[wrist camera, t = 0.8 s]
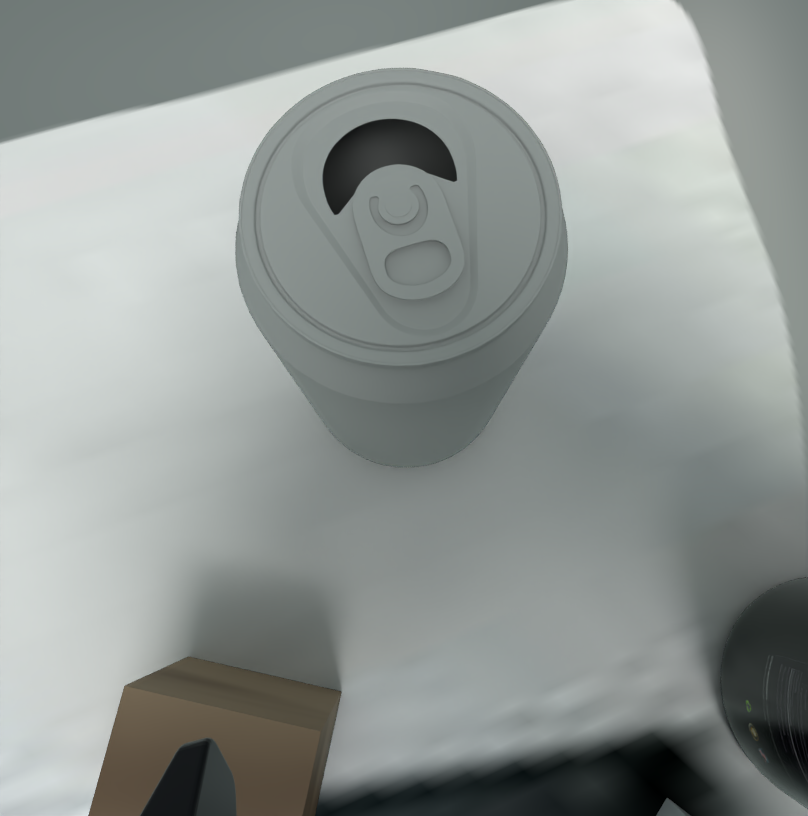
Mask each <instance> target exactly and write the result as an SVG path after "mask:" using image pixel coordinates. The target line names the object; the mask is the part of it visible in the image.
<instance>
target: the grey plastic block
mask: <svg viewBox="0 0 808 816" xmlns="http://www.w3.org/2000/svg"><path fill="white" fill-rule="evenodd" d="M656 816H690V815H689V814H688V813H687V812H685V811H684V810H683V809H681V808H680V807H679V806H678V805H676V804H675V803H674V802H672V801H671V800H670V799H669V798H667V799H666V800H665V802H664V803H663V805H662V807H661V808H660V810H659V812H658V813H657V815H656Z"/></svg>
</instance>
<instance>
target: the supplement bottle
mask: <svg viewBox="0 0 808 816" xmlns="http://www.w3.org/2000/svg"><path fill="white" fill-rule="evenodd" d="M721 691H722V698H723V703H724V708H725V712H726V715H727V718H728V721H729V724H730V726H731V728H732V731H733V733H734V735H735V737H736V739H737V741H738V743H739V744H740V746H741V748H742V749H743V751H744V752H745V754H746V755H747V757H748V758H749V759H750V761H751V762H752V763H753V764H754V766H755V767H756V768H757V769H758V770H759V771H760V772H761V773H762V774H763V775H764V776H765V777H766V778H767V779H768V780H769V781H770V782H772V783H773V784H774V785H775V786H776V787H777V788H779V789H780V790H781V791H783V792H784V793H785V794H787V795H788V796H790V797H791V798H793V799H794V800H796V801H797V802H798V803H800V804H801V805H803V806H804V807H806V808H807V809H808V577H807V578H800V579H796V580H792V581H788V582H785V583H783V584H780V585H778V586H776V587H774V588H772V589H770V590H768V591H767V592H765V593H764V594H762V595H761V596H759V597H758V598H757V599H756V600H755V601H753V602H752V603H751V604H750V605H749V606H748V607H747V608H746V609H745V611H744V612H743V613H742V614H741V616H740V617H739V618H738V620H737V622H736V623H735V625H734V626H733V628H732V631H731V633H730V635H729V637H728V640H727V643H726V645H725V649H724V653H723V658H722V665H721Z"/></svg>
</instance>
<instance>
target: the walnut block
mask: <svg viewBox="0 0 808 816" xmlns="http://www.w3.org/2000/svg"><path fill="white" fill-rule="evenodd" d="M340 697H341V691H337V690H332V689H328V688H324V687H319V686H315V685H310V684H306V683H302V682H297V681H293V680H289V679H284V678H280V677H275V676H271V675H267V674H262V673H258V672H253V671H249V670H245V669H240V668H236V667H232V666H227V665H223V664H218V663H214V662H210V661H205V660H201V659H197V658H192V657H187V658H184V659H182V660H180V661H178V662H176V663H173V664H171V665H169V666H167V667H165V668H163V669H160V670H158V671H156V672H154V673H152V674H149V675H147V676H145V677H143V678H141V679H138V680H136V681H134V682H132V683H130V684H128V685H125V686H124V689H123V693H122V697H121V700H120V704H119V707H118V711H117V715H116V718H115V722H114V725H113V729H112V733H111V736H110V740H109V743H108V747H107V751H106V754H105V758H104V761H103V765H102V769H101V772H100V776H99V779H98V783H97V787H96V790H95V794H94V797H93V801H92V805H91V808H90V812H89V815H88V816H140V814H141V812H142V811H143V809H144V807H145V805H146V804H147V802H148V800H149V798H150V797H151V795H152V793H153V791H154V789H155V788H156V786H157V784H158V782H159V781H160V779H161V777H162V775H163V774H164V772H165V770H166V768H167V767H168V765H169V763H170V761H171V760H172V758H173V756H174V754H175V753H176V751H177V750H178V749H179V747H180V746H182V745H183V744H185V743H188V742H192V741H196V740H199V739H203V738H212V739H213V740H214V741H215V742H216V744H217V745H218V747H219V749H220V751H221V753H222V755H223V757H224V759H225V760H226V762H227V764H228V766H229V768H230V770H231V772H232V774H233V778H234V782H235V790H236V812H237V816H315V813H316V808H317V803H318V799H319V794H320V789H321V785H322V780H323V775H324V771H325V766H326V762H327V757H328V752H329V748H330V743H331V738H332V734H333V729H334V725H335V720H336V715H337V711H338V706H339V701H340Z"/></svg>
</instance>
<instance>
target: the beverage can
mask: <svg viewBox="0 0 808 816" xmlns="http://www.w3.org/2000/svg"><path fill="white" fill-rule="evenodd" d="M235 255H236V268H237V274H238V279H239V285H240V288H241V292H242V294H243V297H244V300H245V302H246V305H247V307H248V309H249V312H250V314H251V316H252V318H253V320H254V321H255V323H256V325H257V327H258V328H259V330H260V331H261V333H262V334H263V336H264V337H265V339H266V340H267V342H268V343H269V345H270V346H271V347H272V349H273V350H274V352H275V353H276V355H277V356H278V358H279V359H280V360H281V362H282V363H283V365H284V366H285V368H286V369H287V370H288V372H289V373H290V375H291V376H292V378H293V379H294V381H295V382H296V383H297V385H298V386H299V388H300V389H301V391H302V392H303V394H304V395H305V396H306V398H307V399H308V401H309V402H310V404H311V405H312V407H313V408H314V409H315V411H316V412H317V414H318V415H319V417H320V418H321V420H322V421H323V422H324V424H325V425H326V427H327V428H328V429H329V431H330V432H331V433H332V434H333V436H334V437H335V438H336V439H337V440H338V441H339V442H341V443H342V444H343V445H344V446H345V447H347V448H348V449H349V450H351V451H352V452H354V453H356V454H357V455H359V456H361V457H363V458H365V459H367V460H370V461H373V462H375V463H379V464H383V465H388V466H394V467H419V466H424V465H429V464H433V463H437V462H439V461H442V460H444V459H447V458H449V457H451V456H453V455H454V454H456V453H458V452H459V451H461V450H462V449H464V448H465V447H466V446H468V445H469V444H470V443H471V442H472V441H473V440H474V439H475V438H476V437H477V436H478V435H479V434H480V433H481V431H482V430H483V429H484V428H485V426H486V425H487V423H488V422H489V420H490V418H491V417H492V415H493V413H494V412H495V410H496V408H497V407H498V405H499V403H500V401H501V400H502V398H503V396H504V395H505V393H506V391H507V390H508V388H509V386H510V385H511V383H512V381H513V380H514V378H515V376H516V375H517V373H518V371H519V370H520V368H521V366H522V365H523V363H524V361H525V359H526V358H527V356H528V354H529V353H530V351H531V349H532V348H533V346H534V344H535V343H536V341H537V339H538V338H539V336H540V334H541V333H542V331H543V329H544V327H545V326H546V324H547V322H548V321H549V319H550V317H551V315H552V313H553V311H554V309H555V307H556V304H557V302H558V299H559V296H560V293H561V290H562V287H563V283H564V279H565V273H566V267H567V256H568V241H567V230H566V222H565V218H564V214H563V209H562V202H561V195H560V189H559V185H558V180H557V177H556V173H555V170H554V167H553V165H552V162H551V160H550V158H549V156H548V154H547V152H546V150H545V148H544V146H543V144H542V143H541V141H540V140H539V138H538V137H537V135H536V134H535V133H534V131H533V130H532V129H531V127H530V126H529V125H528V124H527V122H526V121H525V120H524V119H523V118H522V117H521V116H520V115H519V114H518V113H517V112H516V111H515V110H514V109H512V108H511V107H510V106H509V105H508V104H507V103H505V102H504V101H503V100H501V99H500V98H498V97H497V96H495V95H494V94H492V93H491V92H489V91H487V90H486V89H484V88H482V87H480V86H478V85H476V84H473V83H471V82H469V81H467V80H464V79H462V78H459V77H456V76H452V75H448V74H444V73H439V72H434V71H428V70H423V69H416V68H388V69H378V70H372V71H367V72H362V73H358V74H354V75H351V76H348V77H345V78H342V79H339V80H337V81H334V82H332V83H330V84H327V85H325V86H323V87H321V88H320V89H318V90H316V91H314V92H312V93H311V94H309V95H307V96H306V97H305V98H303V99H302V100H300V101H299V102H298V103H297V104H295V105H294V106H293V107H292V108H290V109H289V110H288V111H287V112H286V113H285V114H284V115H283V116H282V117H281V118H280V119H279V120H278V121H277V122H276V123H275V125H274V126H273V127H272V128H271V129H270V130H269V132H268V133H267V134H266V136H265V137H264V139H263V140H262V142H261V143H260V145H259V147H258V148H257V150H256V152H255V154H254V156H253V158H252V160H251V163H250V165H249V167H248V170H247V173H246V175H245V179H244V182H243V187H242V191H241V196H240V202H239V221H238V226H237V232H236V252H235Z"/></svg>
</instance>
